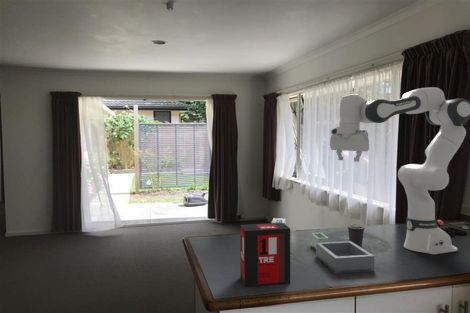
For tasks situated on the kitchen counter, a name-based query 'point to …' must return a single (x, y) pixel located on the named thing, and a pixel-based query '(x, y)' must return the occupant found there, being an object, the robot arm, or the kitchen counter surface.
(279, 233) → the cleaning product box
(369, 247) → the kitchen counter surface
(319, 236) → the small crate
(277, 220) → the light bulb box
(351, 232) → the coffee cup
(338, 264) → the large crate
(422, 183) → the robot arm
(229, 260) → the kitchen counter surface
